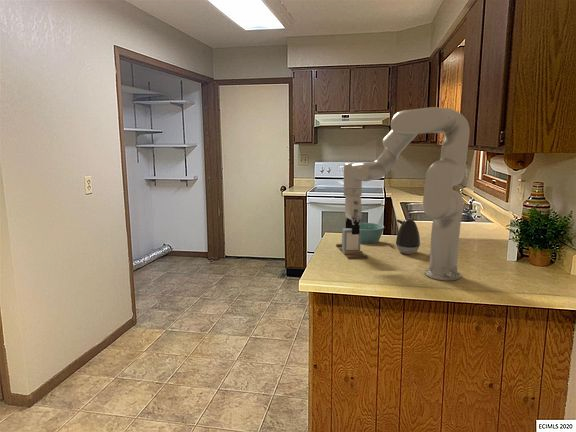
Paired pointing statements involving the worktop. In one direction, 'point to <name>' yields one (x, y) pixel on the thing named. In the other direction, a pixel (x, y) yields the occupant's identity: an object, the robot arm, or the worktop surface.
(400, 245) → the pump dispenser
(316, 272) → the worktop surface
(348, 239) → the picture frame
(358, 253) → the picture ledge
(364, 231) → the bowl
